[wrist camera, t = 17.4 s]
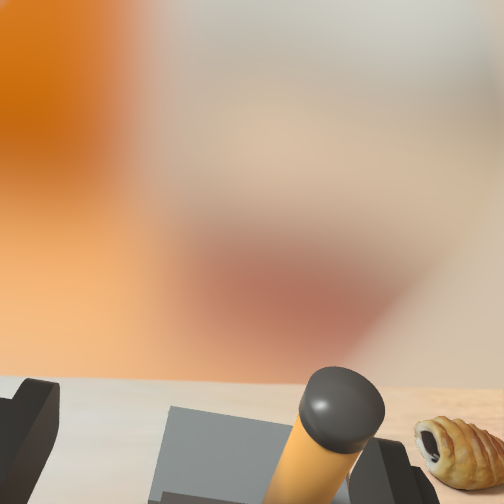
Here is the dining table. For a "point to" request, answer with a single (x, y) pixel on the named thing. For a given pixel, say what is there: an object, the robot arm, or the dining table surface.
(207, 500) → the housing
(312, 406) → the plug
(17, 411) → the robot arm
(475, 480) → the pastry
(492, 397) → the dining table surface
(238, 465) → the mat
